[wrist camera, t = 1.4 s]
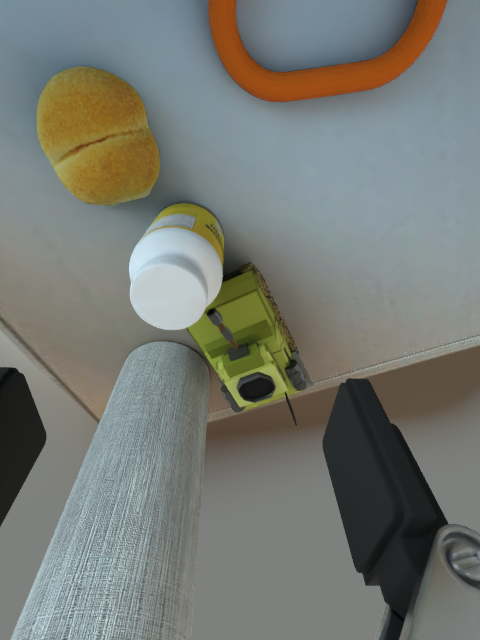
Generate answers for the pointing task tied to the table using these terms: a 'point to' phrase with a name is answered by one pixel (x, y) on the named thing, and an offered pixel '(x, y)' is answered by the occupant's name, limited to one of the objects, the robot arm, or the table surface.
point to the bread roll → (97, 136)
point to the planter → (131, 512)
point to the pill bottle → (177, 266)
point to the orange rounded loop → (322, 78)
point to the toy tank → (249, 343)
